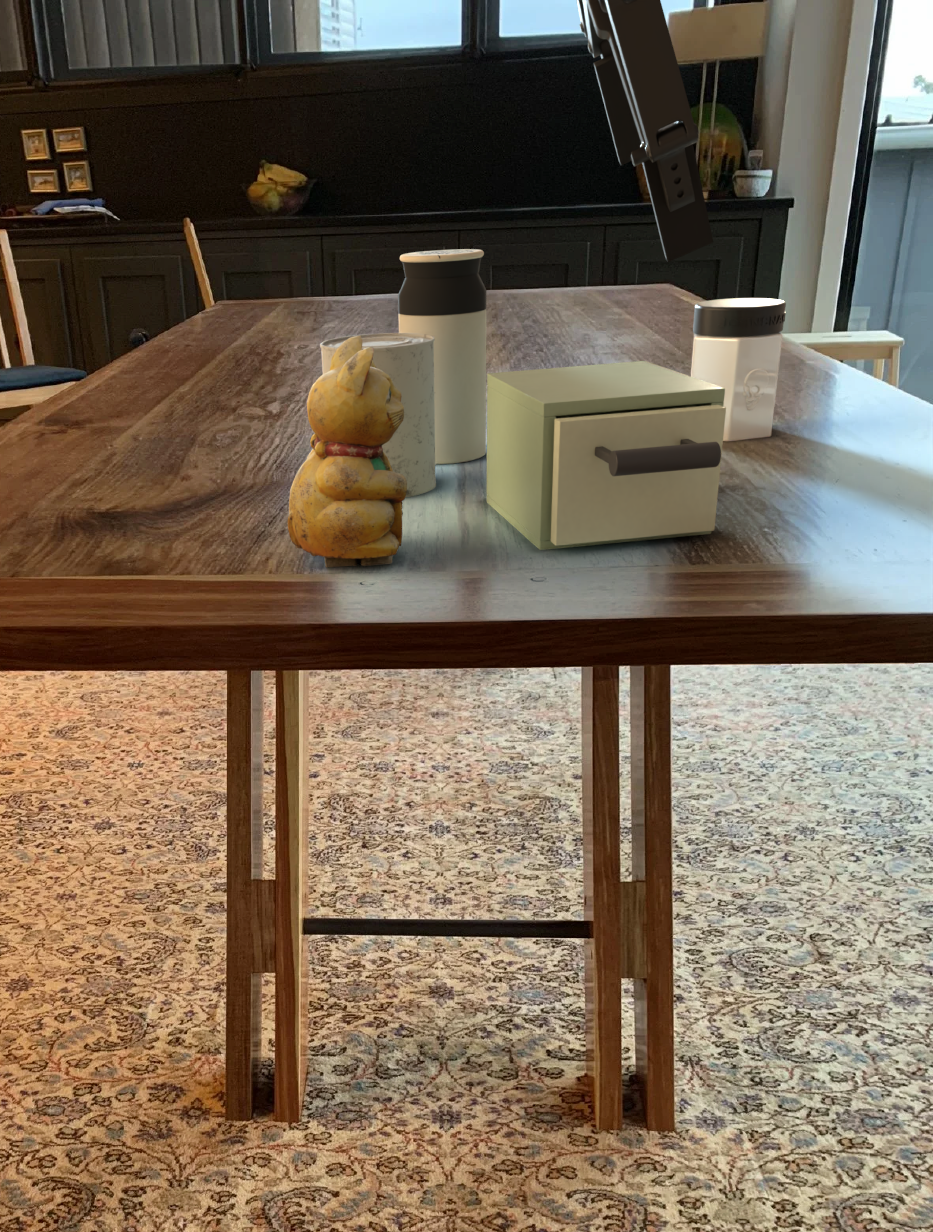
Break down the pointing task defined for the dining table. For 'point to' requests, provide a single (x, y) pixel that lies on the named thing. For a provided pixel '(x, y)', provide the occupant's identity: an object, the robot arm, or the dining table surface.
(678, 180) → the robot arm
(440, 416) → the travel mug
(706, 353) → the jar
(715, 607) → the dining table surface
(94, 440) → the dining table surface
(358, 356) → the decorative figurine
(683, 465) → the drawer
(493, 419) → the cabinet
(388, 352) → the white can
